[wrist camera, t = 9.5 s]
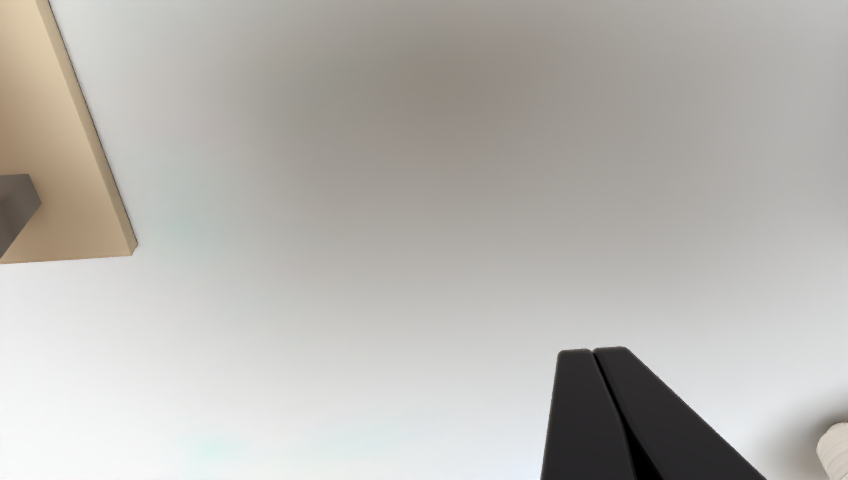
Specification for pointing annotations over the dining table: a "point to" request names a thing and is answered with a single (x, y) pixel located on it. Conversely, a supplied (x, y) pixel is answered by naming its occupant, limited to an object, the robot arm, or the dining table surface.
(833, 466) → the lightbulb
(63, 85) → the beige base board
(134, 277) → the dining table surface
